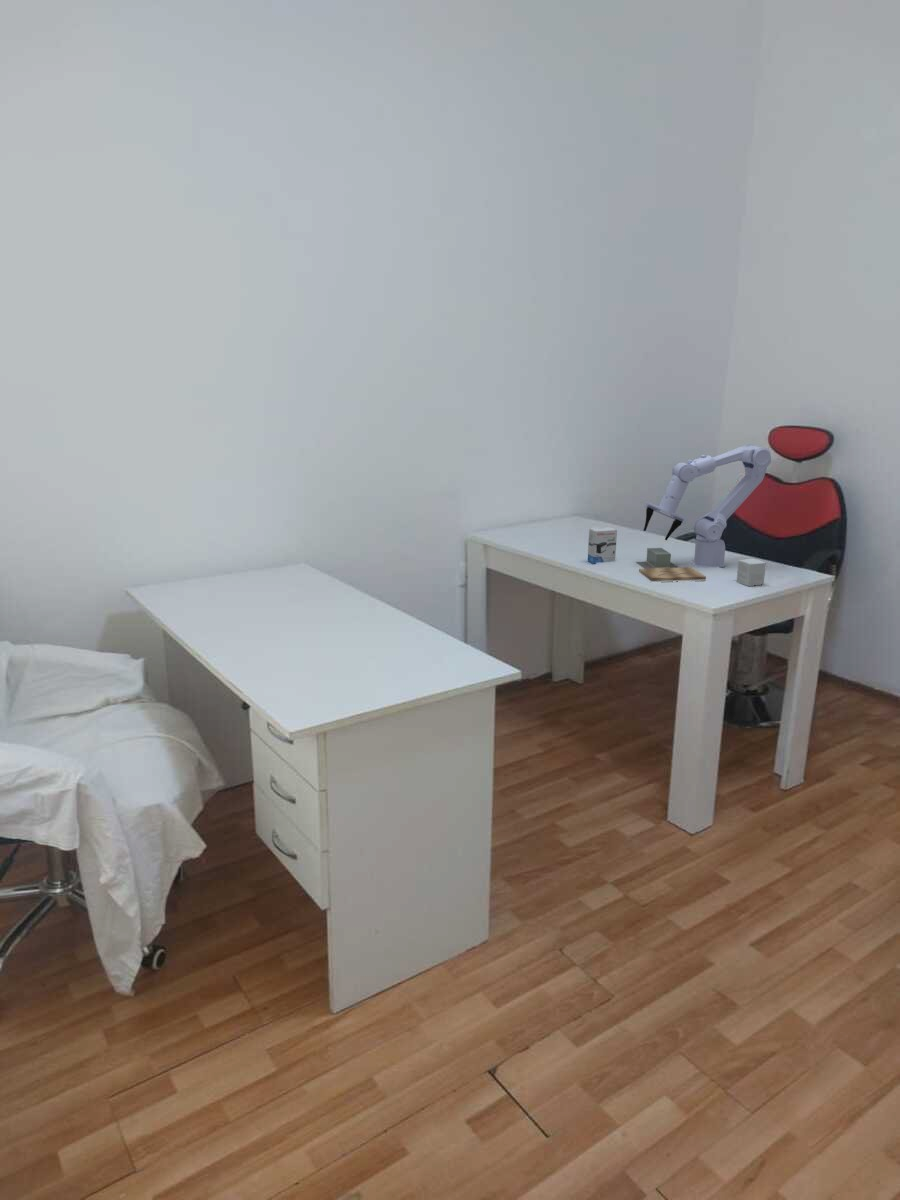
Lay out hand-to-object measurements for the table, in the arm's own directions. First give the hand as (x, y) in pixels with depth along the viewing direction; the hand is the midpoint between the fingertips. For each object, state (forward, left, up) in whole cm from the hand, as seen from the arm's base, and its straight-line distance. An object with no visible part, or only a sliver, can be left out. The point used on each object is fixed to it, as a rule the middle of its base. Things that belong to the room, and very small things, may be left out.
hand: (655, 535), depth 295 cm
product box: (-24, +23, -11) cm, 35 cm away
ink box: (+15, -9, -11) cm, 21 cm away
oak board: (-2, +13, -11) cm, 17 cm away
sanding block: (-2, 0, -10) cm, 11 cm away
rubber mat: (-2, 0, -11) cm, 11 cm away
